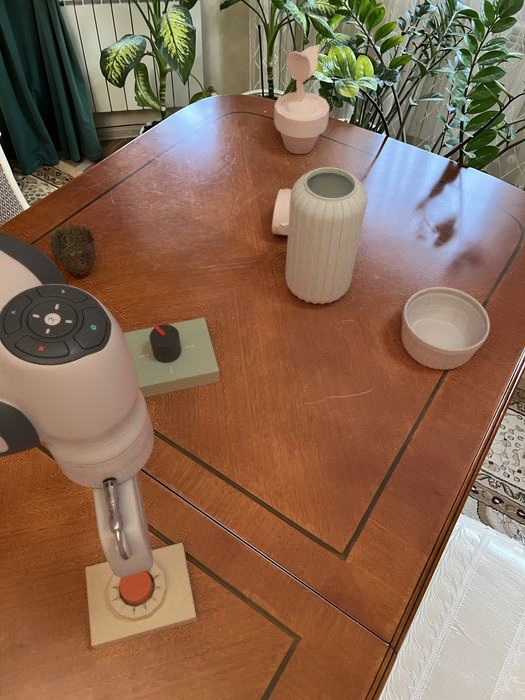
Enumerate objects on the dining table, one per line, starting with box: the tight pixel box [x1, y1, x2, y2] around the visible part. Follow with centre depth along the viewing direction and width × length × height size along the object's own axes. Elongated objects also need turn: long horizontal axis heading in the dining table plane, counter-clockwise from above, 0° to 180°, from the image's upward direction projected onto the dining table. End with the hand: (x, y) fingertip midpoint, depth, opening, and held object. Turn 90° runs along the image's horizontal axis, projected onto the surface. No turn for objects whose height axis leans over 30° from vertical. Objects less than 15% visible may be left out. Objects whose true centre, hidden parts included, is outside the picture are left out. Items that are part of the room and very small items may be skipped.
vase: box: [284, 166, 368, 305], centre depth 93 cm, size 12×12×22 cm
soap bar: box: [271, 187, 292, 236], centre depth 108 cm, size 12×9×8 cm
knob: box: [150, 324, 182, 363], centre depth 87 cm, size 4×4×4 cm
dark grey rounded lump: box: [47, 223, 96, 278], centre depth 100 cm, size 8×7×8 cm
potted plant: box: [273, 41, 330, 155], centre depth 118 cm, size 13×12×25 cm
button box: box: [85, 542, 198, 650], centre depth 68 cm, size 12×9×4 cm
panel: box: [123, 317, 221, 399], centre depth 90 cm, size 14×11×3 cm
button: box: [119, 571, 153, 604], centre depth 66 cm, size 4×4×2 cm
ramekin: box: [401, 286, 491, 371], centre depth 92 cm, size 13×13×7 cm
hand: (128, 496), depth 62 cm, fingers open, 8 cm apart
